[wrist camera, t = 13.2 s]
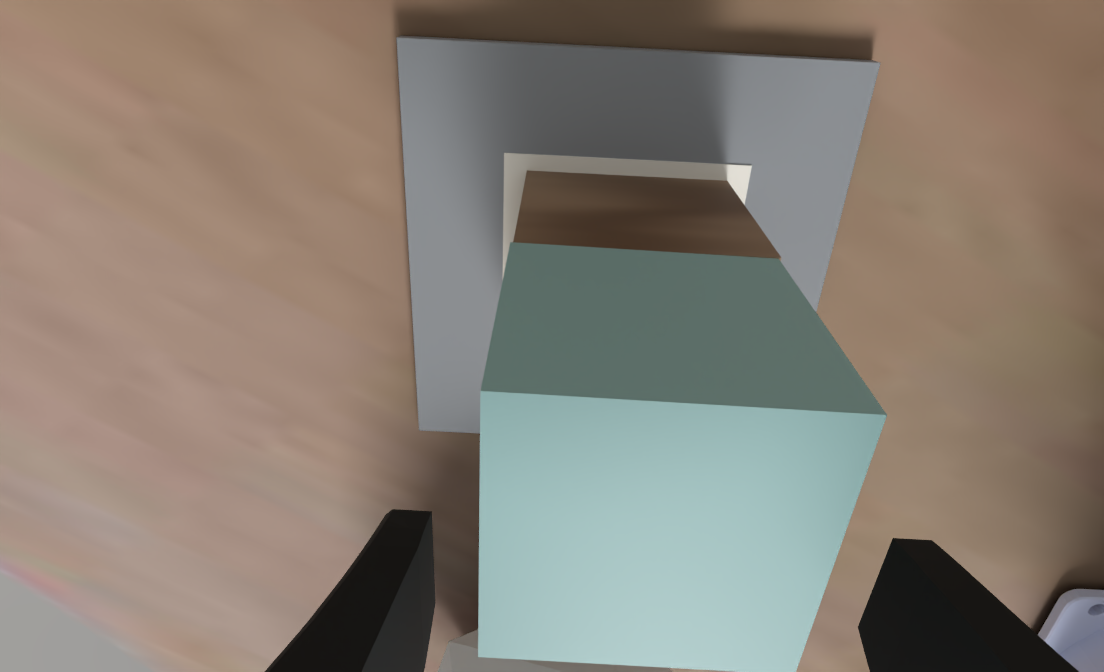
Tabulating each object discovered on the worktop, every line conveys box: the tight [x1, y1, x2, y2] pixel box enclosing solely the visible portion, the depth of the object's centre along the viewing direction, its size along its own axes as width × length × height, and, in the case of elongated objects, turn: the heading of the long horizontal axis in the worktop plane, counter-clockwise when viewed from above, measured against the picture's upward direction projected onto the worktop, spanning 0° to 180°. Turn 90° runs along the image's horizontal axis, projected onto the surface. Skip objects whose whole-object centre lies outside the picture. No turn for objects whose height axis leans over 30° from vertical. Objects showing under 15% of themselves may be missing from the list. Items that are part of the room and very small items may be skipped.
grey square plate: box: [397, 36, 880, 433], centre depth 17 cm, size 10×10×1 cm
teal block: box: [478, 242, 887, 672], centre depth 11 cm, size 4×4×4 cm
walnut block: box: [513, 170, 781, 261], centre depth 15 cm, size 4×4×4 cm
